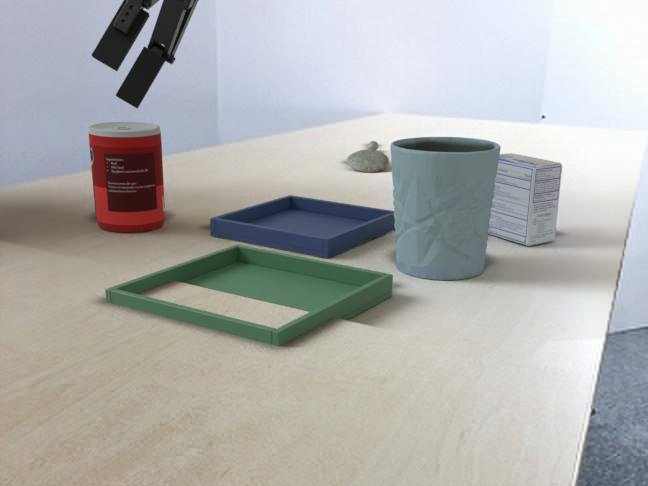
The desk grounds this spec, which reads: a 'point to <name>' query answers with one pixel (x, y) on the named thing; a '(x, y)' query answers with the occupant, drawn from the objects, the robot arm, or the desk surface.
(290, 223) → the blue tray
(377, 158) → the knobbed grey dome
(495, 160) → the embossed blue cup
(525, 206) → the medicine box
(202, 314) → the green tray
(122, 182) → the canned food
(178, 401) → the desk surface
